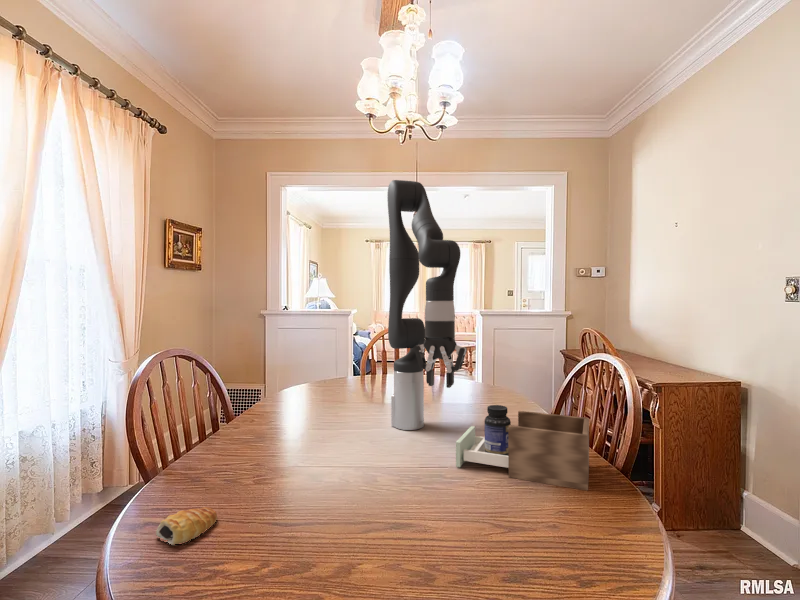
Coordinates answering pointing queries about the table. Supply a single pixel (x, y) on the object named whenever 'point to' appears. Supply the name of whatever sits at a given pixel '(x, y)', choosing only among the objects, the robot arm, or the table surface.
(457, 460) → the drawer
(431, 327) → the robot arm
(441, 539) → the table surface
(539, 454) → the caddy
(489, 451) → the pill bottle
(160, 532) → the pastry
